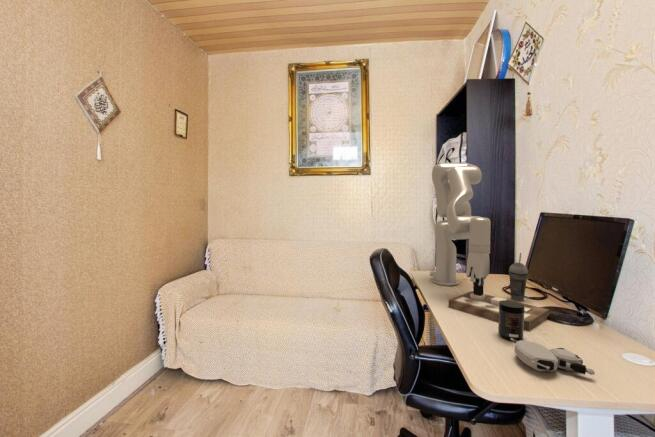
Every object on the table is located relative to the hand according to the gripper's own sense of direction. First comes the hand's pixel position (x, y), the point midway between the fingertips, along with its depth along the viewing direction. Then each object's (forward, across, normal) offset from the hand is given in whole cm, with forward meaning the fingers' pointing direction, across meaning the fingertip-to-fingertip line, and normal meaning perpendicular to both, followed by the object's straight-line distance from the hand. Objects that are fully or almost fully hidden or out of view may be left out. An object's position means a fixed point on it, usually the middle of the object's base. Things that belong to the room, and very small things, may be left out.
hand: (478, 294), depth 122 cm
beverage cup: (+5, -20, +7) cm, 22 cm away
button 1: (+3, 0, 0) cm, 3 cm away
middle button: (+3, 0, +8) cm, 8 cm away
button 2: (+4, 0, +16) cm, 16 cm away
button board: (+4, +2, +8) cm, 9 cm away
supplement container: (+5, +20, +20) cm, 28 cm away
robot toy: (+6, +30, +33) cm, 44 cm away
